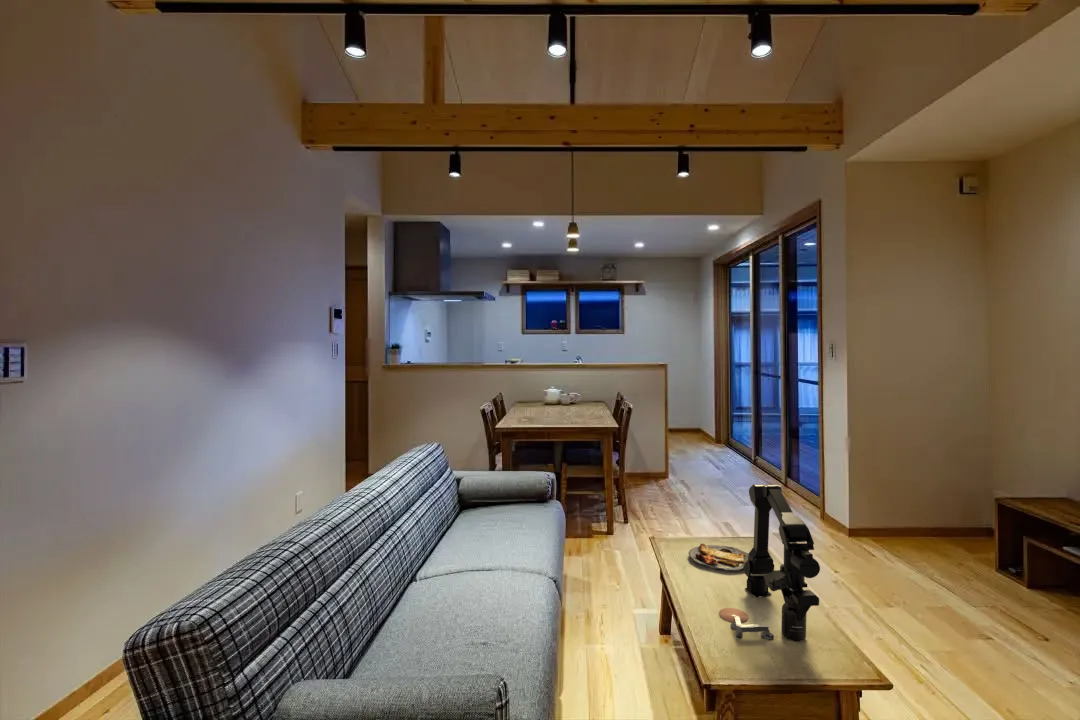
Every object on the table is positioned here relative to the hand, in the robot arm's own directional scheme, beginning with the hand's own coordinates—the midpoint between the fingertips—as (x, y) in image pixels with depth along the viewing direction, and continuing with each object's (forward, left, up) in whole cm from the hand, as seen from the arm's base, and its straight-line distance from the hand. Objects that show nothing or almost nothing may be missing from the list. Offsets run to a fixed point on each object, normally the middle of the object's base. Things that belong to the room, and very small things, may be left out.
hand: (793, 615), depth 168 cm
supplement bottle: (0, 0, -7) cm, 7 cm away
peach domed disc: (+10, -16, -6) cm, 20 cm away
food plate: (-12, -57, -7) cm, 59 cm away
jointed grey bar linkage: (+11, -6, -6) cm, 14 cm away
